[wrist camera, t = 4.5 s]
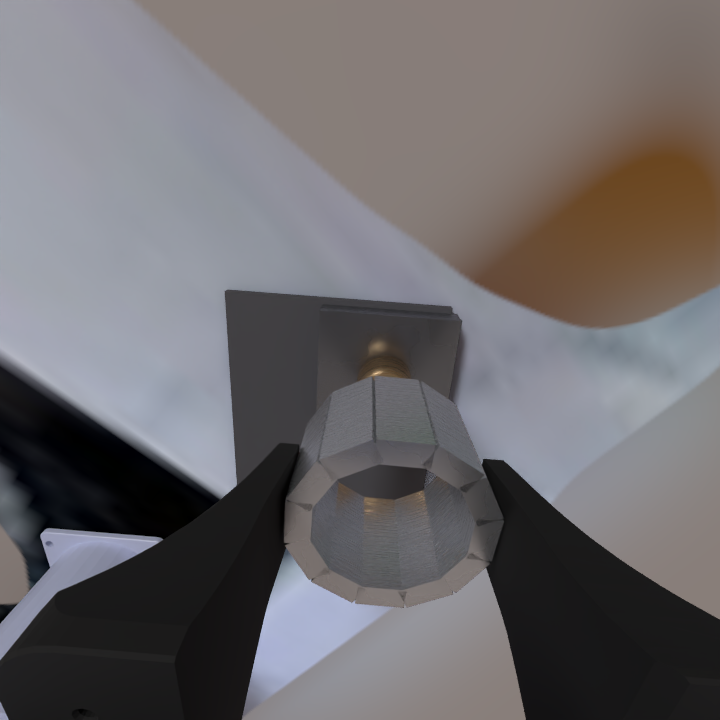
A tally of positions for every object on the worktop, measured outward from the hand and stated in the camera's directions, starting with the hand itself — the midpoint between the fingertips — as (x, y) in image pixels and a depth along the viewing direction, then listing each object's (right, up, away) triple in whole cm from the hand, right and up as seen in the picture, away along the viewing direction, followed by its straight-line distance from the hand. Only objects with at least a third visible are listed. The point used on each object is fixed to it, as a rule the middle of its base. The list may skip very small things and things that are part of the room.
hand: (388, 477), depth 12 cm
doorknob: (0, +3, +8) cm, 8 cm away
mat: (-2, 0, +10) cm, 10 cm away
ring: (0, +1, +1) cm, 1 cm away
